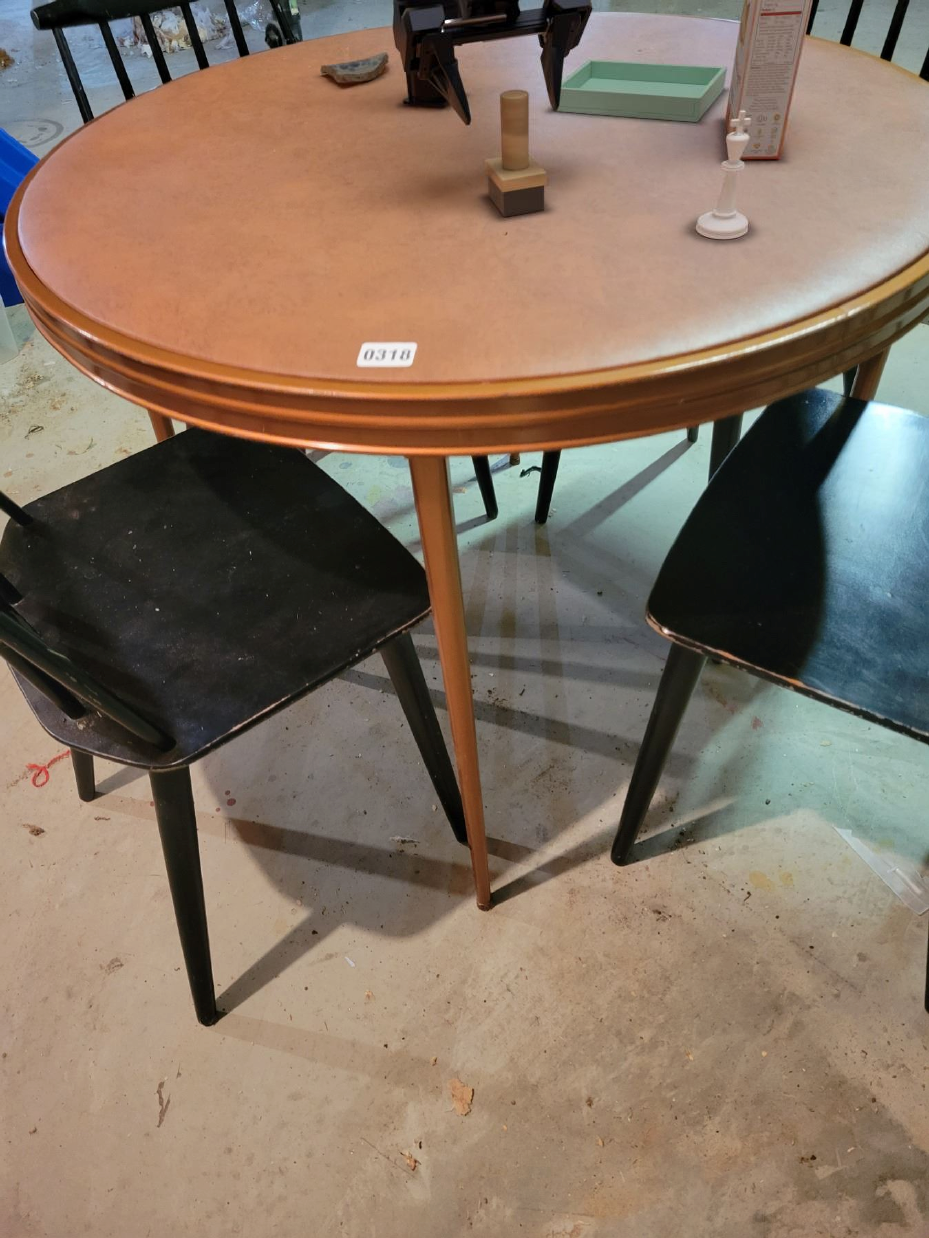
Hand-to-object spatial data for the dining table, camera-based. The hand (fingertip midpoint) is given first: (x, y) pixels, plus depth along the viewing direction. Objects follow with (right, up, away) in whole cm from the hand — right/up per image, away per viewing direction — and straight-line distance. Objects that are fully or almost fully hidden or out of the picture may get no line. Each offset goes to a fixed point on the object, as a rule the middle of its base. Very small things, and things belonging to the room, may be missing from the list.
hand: (513, 115), depth 77 cm
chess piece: (+20, -12, -2) cm, 24 cm away
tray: (+18, +19, +25) cm, 37 cm away
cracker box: (+29, +6, +14) cm, 32 cm away
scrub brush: (+1, -6, +6) cm, 8 cm away
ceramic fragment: (-21, +33, +42) cm, 57 cm away
